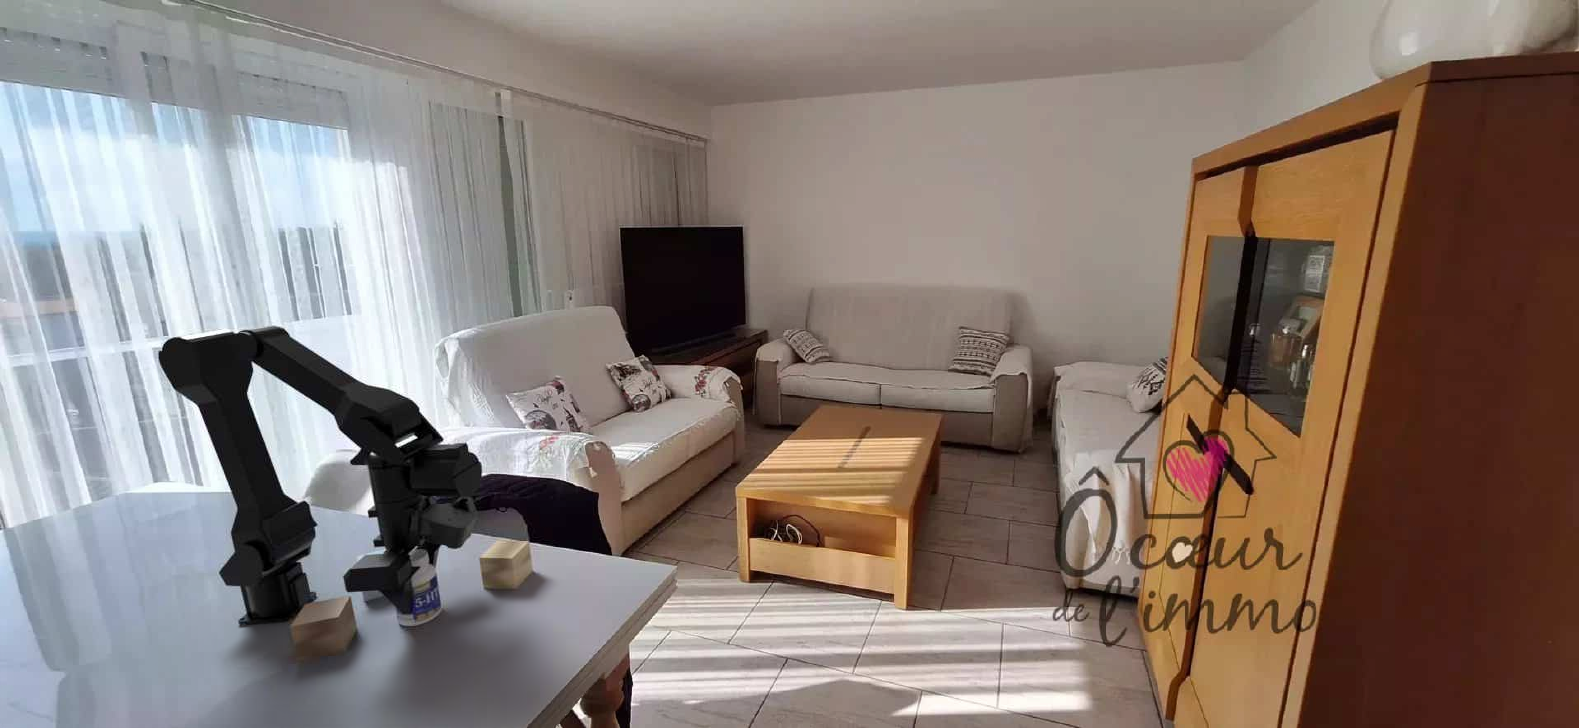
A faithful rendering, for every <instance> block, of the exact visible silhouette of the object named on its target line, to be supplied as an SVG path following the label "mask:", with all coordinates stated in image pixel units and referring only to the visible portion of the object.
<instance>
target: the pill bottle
mask: <svg viewBox="0 0 1579 728" xmlns="http://www.w3.org/2000/svg"><path fill="white" fill-rule="evenodd" d="M410 555H411V563H412V567H415V566H421V567H420V569H419V570H418V571H417V572H416V573H415V574H414V576H413V577H412V599H413V606H412V612H411V613H410V614H402V613H401V612H400V611H399V610H398V609H397V608H396V607H395V606H394V609H395V612H396V618H397V622H398V624H400V625H401V626H405V627H414V626H419V625H423V624H426V623H428V622H431V620H433V619H435V618H436V617H438V616H439V615H440V613H441V612H442V609H443V608H442V600H441V594H440V590H439V589H440V588H439V581H438V577H437V576H438V575H437V571H436V569H437V568H436V569H435V567H434V566H433V565H431V564H428V563H429V557H428V553H427V551H426V550H423V549H416V550H414V551H413V552H412V553H411V554H410Z"/></svg>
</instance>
